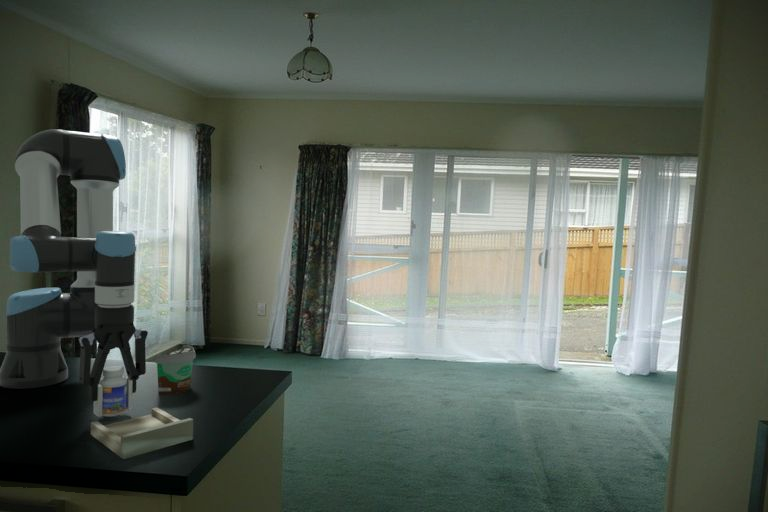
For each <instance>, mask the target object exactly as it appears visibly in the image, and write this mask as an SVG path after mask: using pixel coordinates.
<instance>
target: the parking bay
mask: <svg viewBox="0 0 768 512" xmlns="http://www.w3.org/2000/svg"><path fill="white" fill-rule="evenodd" d="M90 435H91V436H92V437H93V438H95V439H96V440H97V441H98V442H100V443H101V444H102V445H104V446H105V447H107V448H108V449H109V450H110V451H112V452H113V453H114V454H116V455H117V456H118V457H120V458H121V459H122V460H126V459H129V458H133V457H137V456H140V455H144V454H148V453H150V452H154V451H158V450H161V449H165V448H167V447H171V446H174V445H177V444H181V443H185V442H188V441H189V442H190V441H192V440H193V439H194V419H193V418H192V417H189V418H185V419H180V418H176V416H175V417H174V416H173V415H171V414H170V413H168V412H166V411H165V410H162V409H161V408H159V407H154V408H151V413H150V414H147V415H142V416H138V417H133V418H130V419H126V420H122V421H121V420H120V421H117V422H113V423H109V424H105V425H103V424H102V423H101V422H99V420H96V421H92V422H90Z"/></svg>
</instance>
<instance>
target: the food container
mask: <svg viewBox="0 0 768 512" xmlns="http://www.w3.org/2000/svg"><path fill="white" fill-rule="evenodd" d="M196 357H197V354H196V350H195V349H194V347H193V346H191V345H186V344H182V348H180V349H178V350H171V351H169V352H168V353H166V354H156V357H155V364H156V366H157V367H156V368H157V369H156V370H157V389H158V392H157V393H158V394H159V395H176V394H182V393H184V392H187V391H188V390H190V389H191V383H192V373H193V364H194V360H195V359H196Z"/></svg>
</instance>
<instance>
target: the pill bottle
mask: <svg viewBox="0 0 768 512" xmlns="http://www.w3.org/2000/svg"><path fill="white" fill-rule="evenodd" d="M124 368H125V366H124V367H123V366H121V365H110V366H106V367H105V366H104V368H103V372H102V376H103V377H101V378H100V382H99V384H100V385H102V386H103V399H102V416H101V417H106V418H107V417H108V418H109V417H117V416H120V415H123V414H124V413H126V411H127V409H126V400H127V379H126V377H127V376H126V377H125V376H124V373H125V369H124Z"/></svg>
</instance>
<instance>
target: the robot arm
mask: <svg viewBox="0 0 768 512" xmlns="http://www.w3.org/2000/svg"><path fill="white" fill-rule="evenodd" d="M125 155H126V154H125V151H124V146H123V144H122V142H121V140H120V139H119V138H118V137H116V136H113V135H110V134H109V135H108V134H104V133H94V132H84V131H75V130H65V129H59V128H58V129H57V128H54V129H45V130H42V131H39V132H38V133H35V134H33V135H32V136H30V137H28V138H27V139H26V140H25V141H24V142H23V143H22V144H21V145H20V146H19V148H18V150H17V152H16V154H15V158H14V169H15V172H16V173H17V175H18V176H19V178H20V179H19V180H20V181H19V187H20V188H19V192H20V195H19V196H20V197H19V198H20V206H19V207H20V235H18V236H17V235H16V236H12V237H11V238H10V241H9V242H10V243H9V244H10V245H9V250H10V251H9V260H10V261H9V266H10V268H11V271H14V272H18V273H19V272H20V273H22V272H23V273H53V272H54V273H57V272H58V273H60V272H76V280H75V281H74V282H73V283H72V284H71V285H70V288H69V289H70V292H62V291H63V290H62V289H61V288H60V287H55V286H54V287H40V288H34V289H28V290H23V291H19V292H15V293H12V294H11V295H10V296H9V297H8V299H7V301H6V312H5V316H6V353H5V356H4V359H3V361H2V364H1V366H0V387H2V388H5V389H14V390H15V389H17V390H18V389H20V390H21V389H22V390H23V389H34V388H35V389H36V388H42V387H49V386H53V385H56V384H59V383H62V382H64V381H66V380H67V379H68V378H69V367H68V365H67V363H66V359H65V356H64V353H63V352H62V348H61V346H62V345H61V340H62V339H64V338H77V340H78V343H79V346H80V354H79V355H80V358H79V374H78V375H79V376H78V381H79V383H81V384H83V385H84V386H88V398H89V401H92V402H93V410H92V411H93V413H92V414H94V415H95V416H96V417H98V418H100V417H103V416H102V399H103V386H102V385H100V384H99V382H100V379H102V376H103V369H104V368H105V364H106V363H107V359H108V355H109V354H110V353H111V350H113V349H117V348H118V349H119V351H120V355H121V358H122V362H123V365H124V368H125V369H124V370H125V372H126V375H127V376H126V379H127V400H126V411H131V410H133V394H135V393H136V392H137V380H139V379H140V376H143V375H145V374H146V372H147V369H146V367H147V365H146V362H147V361H146V359H147V358H146V357H147V356H146V341H147V338H148V334H149V332H148V330H146V329H142V328H137V327H136V326H135V325H134V324H135V323H134V321H135V306H134V305H133V303H134V302H135V271H136V269H135V268H136V251H137V246H136V236H135V234H134V233H133V232H131V231H122V230H121V231H120V230H119V231H117V230H114V192H115V190H116V189H117V188H118V187H119V186H120V181H122V180H125V178H126V174H127V171H126V169H127V167H126V165H127V163H126V156H125ZM60 175H61V176H70V177H69V178H70V184H71V185H72V186H73V187H74V188H75V189H76V198H77V199H76V236H75V237H74V236H62V229H61V228H62V227H61V216H60V214H61V213H60V202H59V200H60V199H59V189H58V186H59V185H58V177H59V176H60ZM132 337H134V357H135V358H133V356H132V354H133V353H132V352H131V345H130V342H129V341H130V340H131V339H132ZM94 341H96V342H97V343H98V344H97V348H96V351H97V352H96V354H95V359H94V361H93V366H92V365H91V364H92V345H93V344H94ZM134 360H135V361H134ZM134 362H135V363H134ZM91 367H92V368H91Z"/></svg>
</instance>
